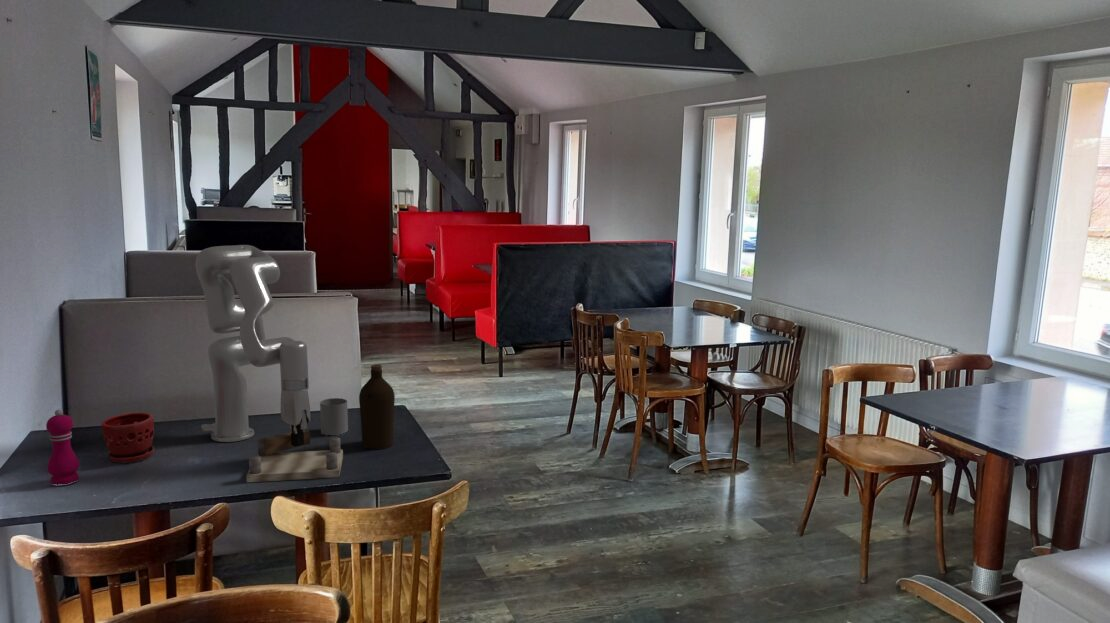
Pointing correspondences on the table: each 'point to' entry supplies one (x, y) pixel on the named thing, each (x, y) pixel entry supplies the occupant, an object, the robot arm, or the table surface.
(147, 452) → the plant pot
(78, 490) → the table surface
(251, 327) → the robot arm
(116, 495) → the table surface
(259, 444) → the folding leg
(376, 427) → the olive oil
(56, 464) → the pepper mill
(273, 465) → the stool seat
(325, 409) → the cup
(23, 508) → the table surface
